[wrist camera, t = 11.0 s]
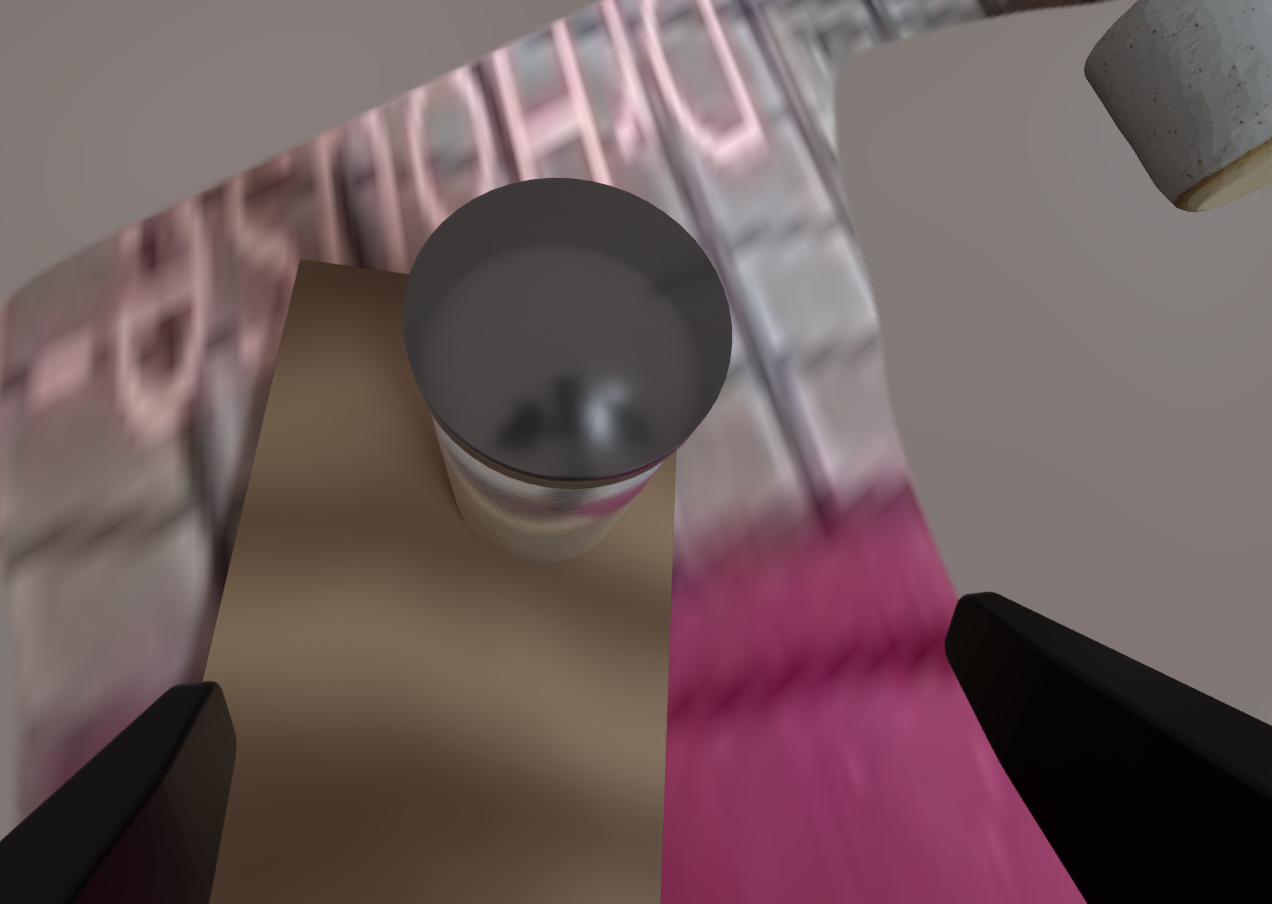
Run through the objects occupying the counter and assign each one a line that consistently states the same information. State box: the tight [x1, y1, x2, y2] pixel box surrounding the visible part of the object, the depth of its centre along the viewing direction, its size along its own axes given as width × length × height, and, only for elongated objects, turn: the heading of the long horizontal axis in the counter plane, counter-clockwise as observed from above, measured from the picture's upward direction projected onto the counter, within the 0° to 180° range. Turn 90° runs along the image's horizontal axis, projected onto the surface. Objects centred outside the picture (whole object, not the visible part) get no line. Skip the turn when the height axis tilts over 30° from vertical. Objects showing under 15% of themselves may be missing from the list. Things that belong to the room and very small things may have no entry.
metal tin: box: [402, 178, 732, 563], centre depth 16 cm, size 5×5×10 cm
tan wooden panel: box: [203, 259, 676, 904], centre depth 20 cm, size 18×12×1 cm, turn 176°
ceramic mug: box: [1084, 0, 1272, 212], centre depth 29 cm, size 11×8×8 cm
